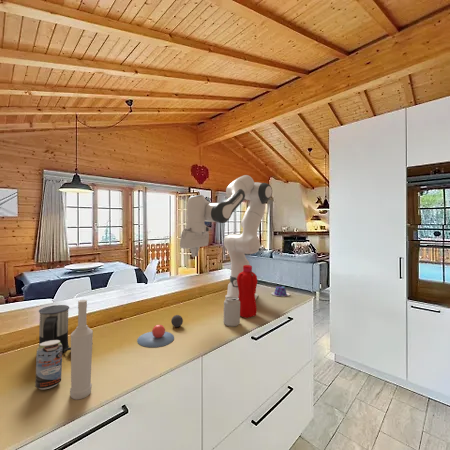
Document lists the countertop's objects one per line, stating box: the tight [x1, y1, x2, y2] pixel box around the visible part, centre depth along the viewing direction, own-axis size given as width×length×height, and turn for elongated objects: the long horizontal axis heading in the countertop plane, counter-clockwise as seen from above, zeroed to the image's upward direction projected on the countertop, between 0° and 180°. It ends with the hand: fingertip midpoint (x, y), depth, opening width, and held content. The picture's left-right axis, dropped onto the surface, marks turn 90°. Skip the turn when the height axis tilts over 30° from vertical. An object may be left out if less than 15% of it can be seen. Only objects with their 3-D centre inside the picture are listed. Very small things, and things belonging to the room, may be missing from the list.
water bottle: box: [237, 264, 258, 319], centre depth 134 cm, size 9×11×25 cm
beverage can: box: [34, 340, 63, 390], centre depth 75 cm, size 6×7×12 cm
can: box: [223, 296, 241, 328], centre depth 122 cm, size 8×8×12 cm
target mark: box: [136, 331, 175, 348], centre depth 105 cm, size 14×14×1 cm
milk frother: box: [38, 304, 94, 354], centre depth 94 cm, size 14×16×15 cm
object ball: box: [151, 324, 166, 338], centre depth 106 cm, size 5×5×5 cm
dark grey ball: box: [170, 314, 184, 328], centre depth 118 cm, size 5×5×5 cm
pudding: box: [270, 285, 291, 298], centre depth 174 cm, size 12×12×5 cm
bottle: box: [69, 299, 94, 400], centre depth 71 cm, size 5×5×25 cm
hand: (194, 256), depth 131 cm, fingers closed
